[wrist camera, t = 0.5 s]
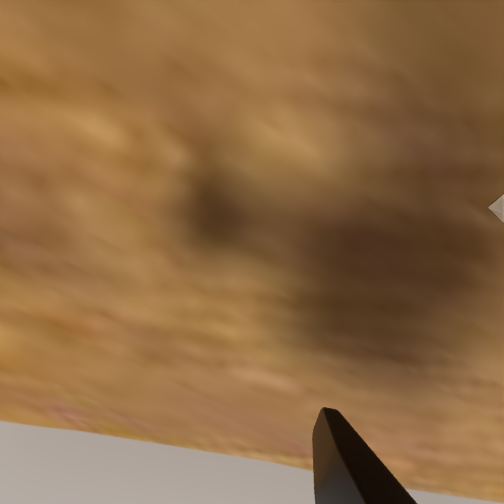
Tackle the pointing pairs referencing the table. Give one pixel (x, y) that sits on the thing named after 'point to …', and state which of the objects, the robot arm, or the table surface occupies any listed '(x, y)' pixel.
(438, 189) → the table surface
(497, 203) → the switch box
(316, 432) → the robot arm
